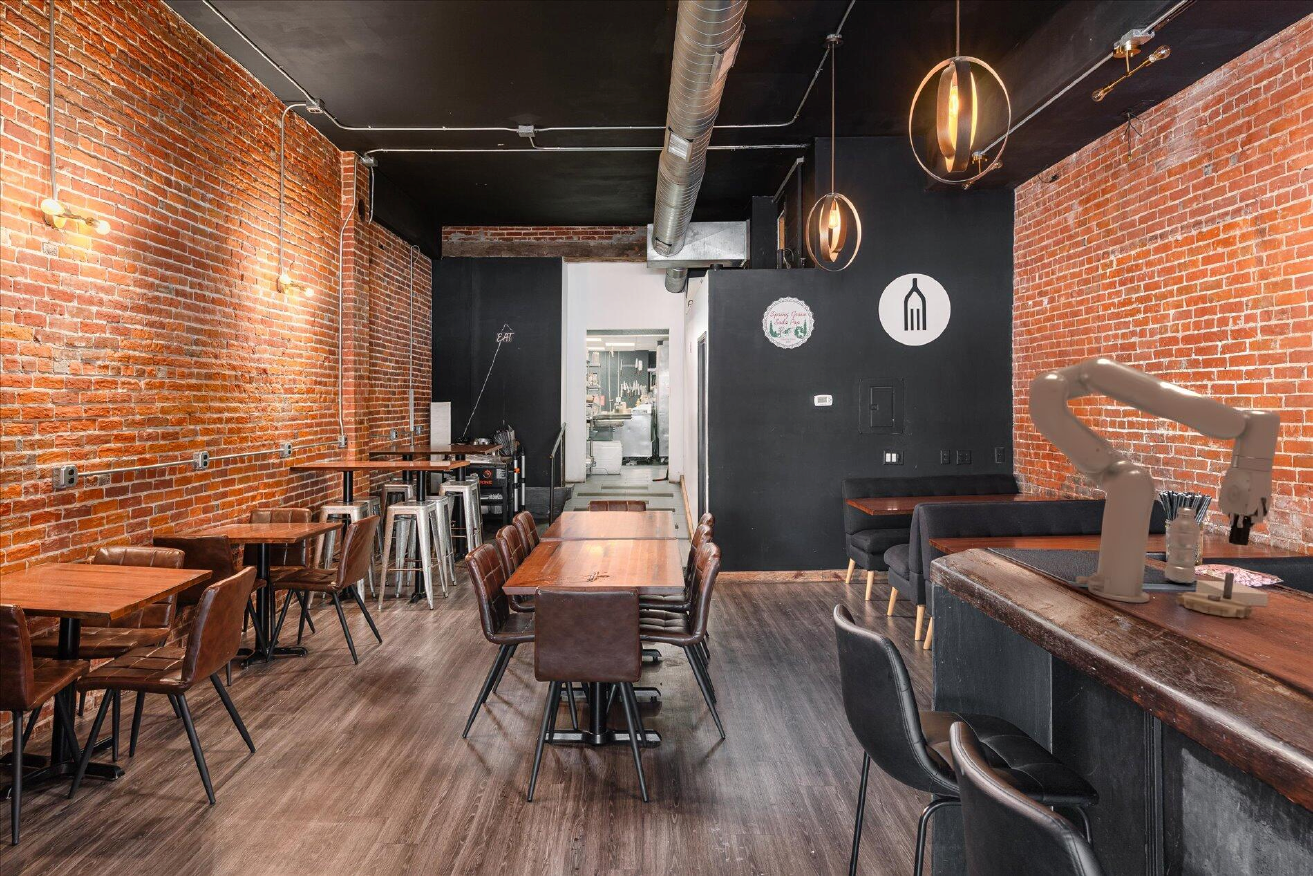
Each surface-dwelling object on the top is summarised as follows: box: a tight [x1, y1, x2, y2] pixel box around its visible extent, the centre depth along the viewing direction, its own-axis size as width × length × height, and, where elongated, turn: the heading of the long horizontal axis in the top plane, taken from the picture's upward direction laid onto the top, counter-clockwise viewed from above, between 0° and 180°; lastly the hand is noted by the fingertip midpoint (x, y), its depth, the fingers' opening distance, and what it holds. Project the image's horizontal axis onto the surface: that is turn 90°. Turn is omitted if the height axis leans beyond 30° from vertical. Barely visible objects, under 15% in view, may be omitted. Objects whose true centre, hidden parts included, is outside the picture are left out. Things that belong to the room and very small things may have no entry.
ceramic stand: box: [1195, 579, 1270, 607], centre depth 185 cm, size 10×10×3 cm
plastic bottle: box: [1164, 506, 1201, 583], centre depth 197 cm, size 6×7×20 cm
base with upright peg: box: [1175, 571, 1253, 619], centre depth 174 cm, size 14×14×8 cm
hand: (1237, 544), depth 173 cm, fingers closed
